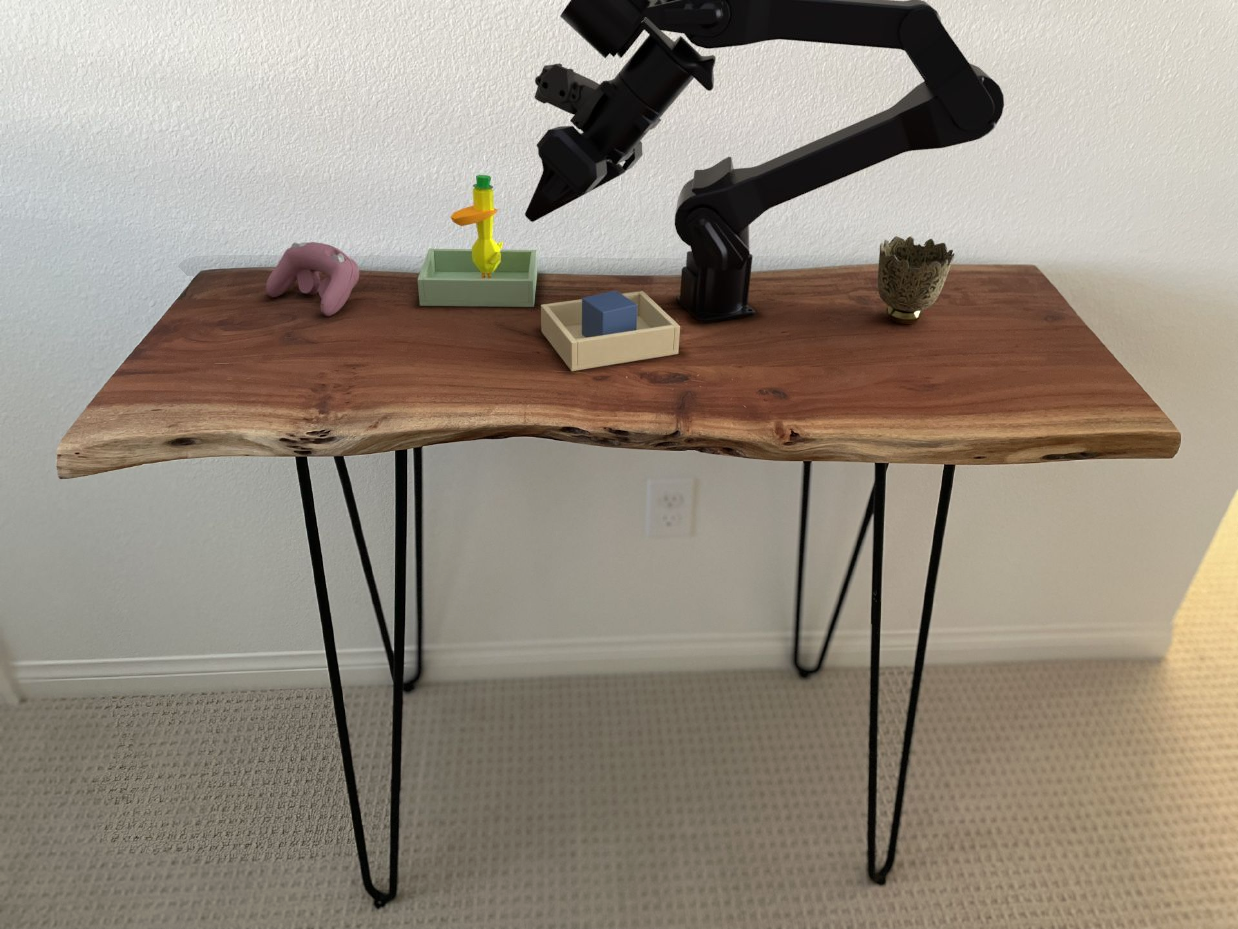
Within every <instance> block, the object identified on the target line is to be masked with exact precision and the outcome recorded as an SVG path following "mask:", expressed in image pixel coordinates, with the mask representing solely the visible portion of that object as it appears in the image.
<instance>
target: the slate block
mask: <svg viewBox="0 0 1238 929" xmlns="http://www.w3.org/2000/svg"><path fill="white" fill-rule="evenodd" d="M622 294H623V293H620V292H619V291H618V290H612V291H607V292H603V293H599V294H594V295H590V296H589V295H588V296H585V297H582V298H581V299H582V335H583V336H584V337H586V338H588V337H595V336H602V335H608V334H615V333H621V332H628V331H635V330H636V327H637V304H636V303H634V302H633V301H631V300H630V299H628V298H627V297H625V296H624V295H622Z"/></svg>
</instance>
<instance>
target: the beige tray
mask: <svg viewBox="0 0 1238 929" xmlns="http://www.w3.org/2000/svg"><path fill="white" fill-rule="evenodd" d="M621 294H622V295H624V296H625V297H627V298H628V299H630V300H631V301H633V302H634V303H636V304H637V327H636V330H635V331H628V332H621V333H615V334H608V335H602V336H595V337H588V338H586V337H584V336H583V335H582V298H581V299H574V300H567V301H566V300H565V301H559V302H552V303H544V304H541V305H540V323H541V324H540V326H541V328H540V329H541V331H540V332H541V333H542V335H543V336H544V337H545V338H546V339H547V341H548V342H549V344H550V345H551V347H553V349H554V350H555V351H556V353H557V354H558V355H559V357H560V358H561V359H562V360H563V362H564V363H565V365H566V366H567V368H568V369H569V370H570V371H571V372H576V371H581V370H588V369H594V368H601V367H606V366H607V367H608V366H613V365H617V364H624V363H630V362H631V363H632V362H636V361H643V360H649V359H655V358H656V359H657V358H661V357H669V356H673V355H678V354H679V348H680V347H679V346H680V334H681V333H680V332H681V326H680V325H679V324H678V323H677V322H676V321H675V320H674V319H673V318H672V317H671V316H670V315H669V314H668V313H667V312H666V311H665V310H663V309H662V308H661V306H660V305H658V303H656V302H655V301H654V300H653V299H652V298H651V297H650V296H649V295H648V294H647V293H646V292H645V291H643V290H640V291H632V292H625V293H621Z"/></svg>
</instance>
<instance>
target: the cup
mask: <svg viewBox="0 0 1238 929" xmlns="http://www.w3.org/2000/svg"><path fill="white" fill-rule="evenodd" d="M953 251H954V250H953V249H949V250H948V247H947V245H946V243H945V242H940V243H935V241H934V240H933V239H932V238H929V239H928V240H926V241H925V242H924V244H923V245H921V244H920V243H918V244H915V238H914V237H912V236H908V237H907V238H906V239H904V238H903V237H900V236H897V235H895V236H894V237H893V238H892V239H891V240H890V241H889V240H887V239H884V241H883V243H882V242H880V244H879V256H878V268H877V270H878V271H877V289H878V295H879V296H880V298H881V300H882V301H883V303H885V305H886V306H887V307H886V308H885V315H886V317H887V318H888V319H889V320H890V321H891V322H894V323H896V324H899V325H900V324H901V325H912V324H915V323H917V322H918V321H919V320H920V318H921V317H922V311H924V310H926V309H929V307H931V306H932V305H934V303H935V302H936V301H937V300H938V298H939V296H940V294H941V292H942V290H943V288H944V285H945V282H946V280H947V277H948V274H949V272H950V268H951V267H952V266H951V265H952V263H953V261H954V258H955V253H953Z"/></svg>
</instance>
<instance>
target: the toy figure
mask: <svg viewBox="0 0 1238 929" xmlns="http://www.w3.org/2000/svg"><path fill="white" fill-rule="evenodd" d="M475 180H476V183H473V184H472V187H473V188H472V202H473V205H470V206H467V207H463V208H461V209H458V210H455V211H454V212H453V213H452V214H451V215H450V220H451V221H452V222H453V223H454V224H456V225H458V226H460V227H465V226H469V225H473V224H475V227H476V232H477V239H476V240H475V242H474V243H473V245H472V246H471V249H472V259H473V262H474V263H475V265H476V266H477V268H478V269H479V270H480V272H481V273H482V278H486V277H485V273H487V274H488V278H491V273H492V272H494V271H495V269H496V268H497V266H498V265H499V263H500V260H501V252H500V250H502V248H503V245H504V243H505V240H503V241H500V242H496V241H495V239H494V238H493V235H494V234H493V233H494V232H493V231H494V218H495V214H497V213H498V212H499V209H497V208H495V206H494V204H495V203H494V186H493V185H491V180H492V176H490V175H486V174H476V175H475Z"/></svg>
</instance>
